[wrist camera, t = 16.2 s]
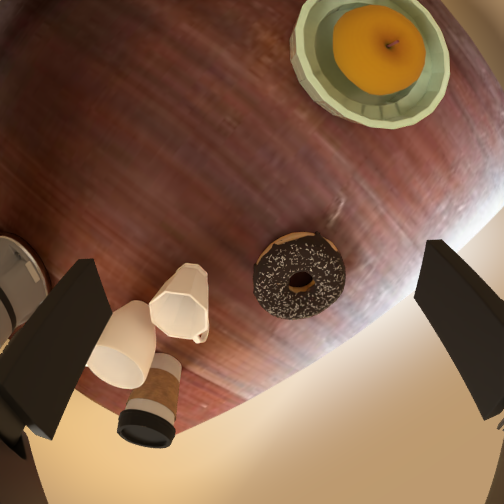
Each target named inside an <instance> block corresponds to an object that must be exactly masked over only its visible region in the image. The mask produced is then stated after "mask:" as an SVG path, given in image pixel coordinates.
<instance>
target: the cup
mask: <svg viewBox="0 0 504 504" xmlns="http://www.w3.org/2000/svg"><path fill="white" fill-rule="evenodd" d="M207 279H208V273H207V272H206V271H205V270H204V269H203V268H202V267H201V266H200V265H199V264H191V263H185V264H183V265H182V266H181V267H180V268H178V269H177V270H176V273H175V274H174V275H173V276H172V277H170V278H169V279H168V280H167V281H166V282H165V283H164V285H163V286H162V287H161V289H160V290H159V291H158V292H157V294H156V295H155V296H154V297H153V299H152V300H151V301H150V302H149V307H150V315H151V322H152V323H153V324H155V325H156V326H157V327H158V328H159V329H160V330H162V331H163V332H164V333H165V334H166V335H168V336H170V337H177V338H184V339H193V341H194V342H195V343H202V342H205V341H206V339H207V337H208V334H209V320H208V281H207ZM201 333H202V336H201V338H200V337H199V335H200V334H201Z"/></svg>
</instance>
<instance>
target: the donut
mask: <svg viewBox="0 0 504 504" xmlns="http://www.w3.org/2000/svg"><path fill="white" fill-rule="evenodd" d="M302 271H305V272H307V273H309V274H310V275H311V276H312V278H313V280H312V281H311V282H310V283H309V284H308V285H306V286H303V287H292V286H289V283H290V280H289V279H290V277H291V276H292V275H294V274H295V273H297V272H302ZM345 278H346V274H345V265H344V262H343V259H342V257H341V255H340V252H339V251H338V250H337V248H336V247H335V246H334V244H333V243H332V242H330V241H329V240H328V239H326V238H324V237H322V236H321V235H320V233H319V232H317V231H316V232H315V234H314V233H308V232H295V233H290V234H287V235H285V236H282V237H280V238H279V239H277V240H276V241H274V242H273V243H271V244H270V245H269V246H268V247H267V248H266V249H265V251H264V252H263V253H262V254H261V255H260V257H259V259H258V261H257V263H255V264H254V274H253V285H254V291H253V293H254V295H255V297H256V298H257V300H258V302H259V303H260V305H261V306H262V307H263V308H264V309H265V310H266V311H267V312H269V313H270V314H271V315H273V316H276V317H277V318H281V319H282V318H283V319H288V320H294V319H304V318H309V317H312V316H314V315H317V314H319V313H321V312H322V311H324V310H325V309H327V308H328V307H329V306H330V305H331V304H333V303H334V302H335V301H336V300H337V299H338V297H339V296H340V295H341V293H342V292H343V289H344V286H345Z"/></svg>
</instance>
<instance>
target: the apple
mask: <svg viewBox="0 0 504 504" xmlns="http://www.w3.org/2000/svg"><path fill="white" fill-rule="evenodd" d="M333 54H334V58H335V61H336V63H337V65H338V67H339V69H340V70H341V71H342V72H343V73H344V75H345V76H346V77H347V78H348V79H349V80H350V81H351V82H352V83H354V84H355V85H356V86H357V87H359V88H360V89H361V90H363V91H365V92H367V93H369V94H372V95H379V96H380V95H387V94H392V93H395V92H398V91H401V90H403V89H406V88H407V87H409V86H410V85H411V84H412V83H414V82H415V81H416V80H418V78H419V77H420V75H421V73H422V70H423V68H424V65H425V56H426V50H425V46H424V42H423V38H422V36H421V34H420V32H419V31H418V30H417V28H416V27H415V26H414V24H413V23H412V22H411V21H410V20H408V19H407V18H406V17H405V16H404V15H403V14H401V13H399V12H397V11H395V10H393V9H391V8H389V7H386V6H381V5H367V6H363V7H359V8H355V9H353V10H350V11H348V12H346V13H345V14H343V15H342V16H341V17H340V18H339V20H338V21H337V23H336V24H335V26H334V29H333Z"/></svg>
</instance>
